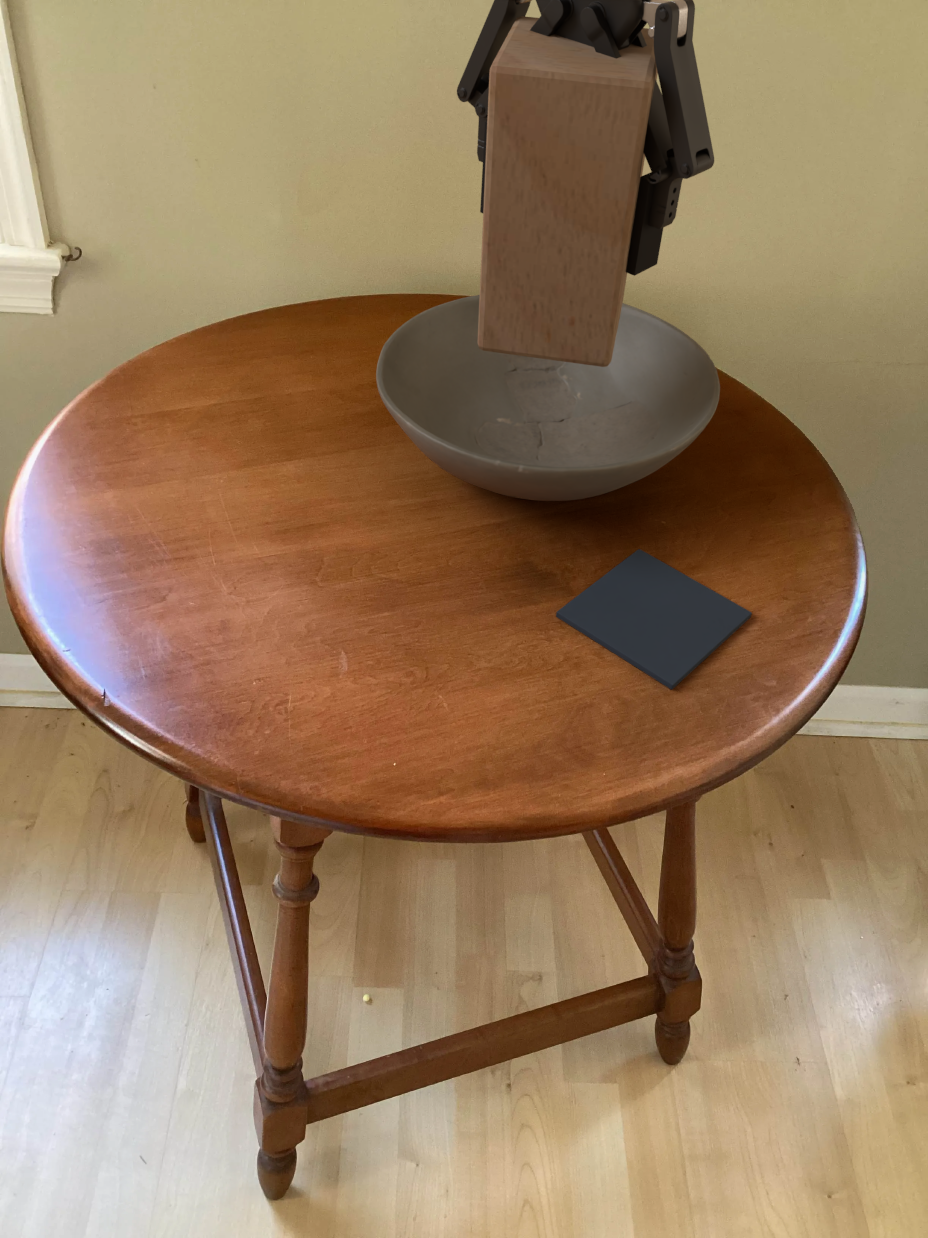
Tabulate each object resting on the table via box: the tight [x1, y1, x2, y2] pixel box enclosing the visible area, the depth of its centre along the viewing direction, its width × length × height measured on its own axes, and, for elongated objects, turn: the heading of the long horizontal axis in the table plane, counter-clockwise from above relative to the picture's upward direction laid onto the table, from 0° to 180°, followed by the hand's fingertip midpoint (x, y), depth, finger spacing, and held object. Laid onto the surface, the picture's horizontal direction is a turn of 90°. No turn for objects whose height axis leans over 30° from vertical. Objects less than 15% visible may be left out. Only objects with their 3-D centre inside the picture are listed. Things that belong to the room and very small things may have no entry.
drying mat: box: [555, 548, 753, 690], centre depth 74 cm, size 10×10×1 cm
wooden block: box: [478, 16, 658, 367], centre depth 73 cm, size 10×10×20 cm
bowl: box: [375, 294, 721, 502], centre depth 86 cm, size 27×28×8 cm
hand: (565, 237), depth 76 cm, fingers closed on wooden block, 13 cm apart
